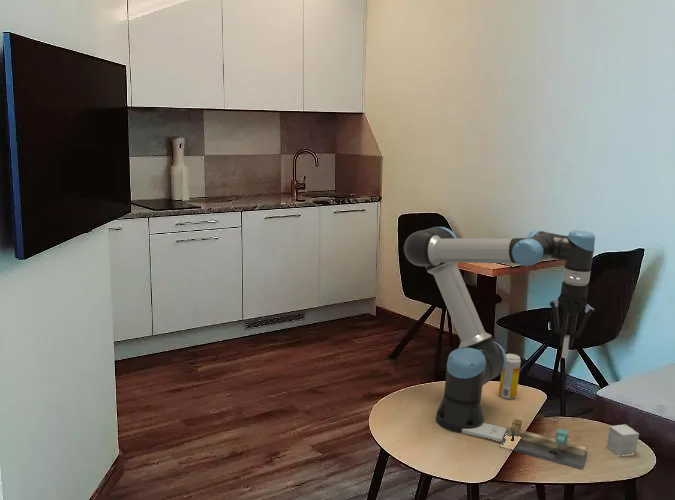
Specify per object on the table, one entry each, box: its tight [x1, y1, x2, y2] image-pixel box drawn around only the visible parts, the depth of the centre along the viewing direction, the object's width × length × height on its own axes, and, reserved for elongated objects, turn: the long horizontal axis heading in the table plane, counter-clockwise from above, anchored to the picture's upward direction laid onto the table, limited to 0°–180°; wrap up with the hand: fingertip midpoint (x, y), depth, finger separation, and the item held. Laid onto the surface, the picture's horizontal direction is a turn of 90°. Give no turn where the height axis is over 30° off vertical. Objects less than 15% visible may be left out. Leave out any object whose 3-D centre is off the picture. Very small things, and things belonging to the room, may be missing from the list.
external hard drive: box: [461, 422, 508, 442], centre depth 215 cm, size 2×8×12 cm
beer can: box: [498, 353, 522, 400], centre depth 242 cm, size 6×6×15 cm
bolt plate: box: [499, 431, 588, 470], centre depth 207 cm, size 24×10×1 cm, turn 64°
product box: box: [606, 423, 640, 456], centre depth 209 cm, size 6×6×7 cm
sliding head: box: [555, 427, 570, 453], centre depth 205 cm, size 3×6×5 cm, turn 154°
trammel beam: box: [506, 418, 587, 456], centre depth 207 cm, size 23×6×5 cm, turn 64°
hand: (564, 356), depth 211 cm, fingers closed
